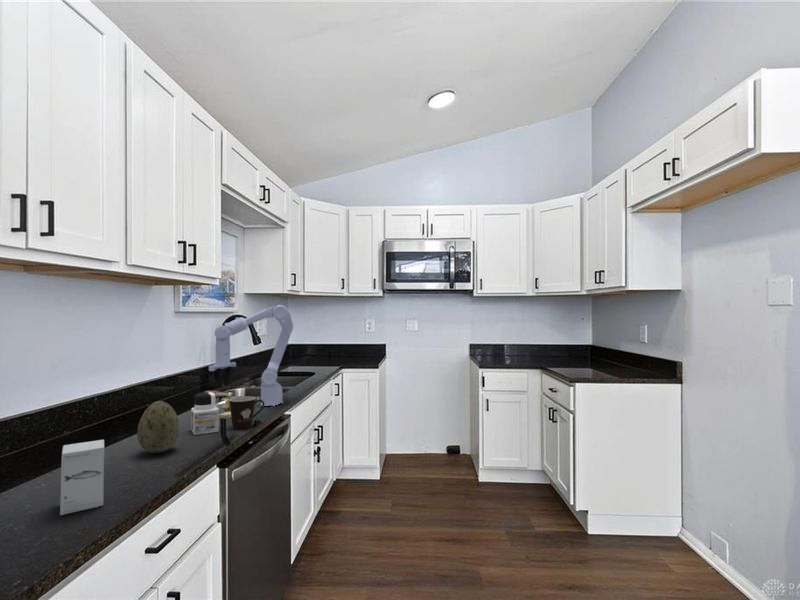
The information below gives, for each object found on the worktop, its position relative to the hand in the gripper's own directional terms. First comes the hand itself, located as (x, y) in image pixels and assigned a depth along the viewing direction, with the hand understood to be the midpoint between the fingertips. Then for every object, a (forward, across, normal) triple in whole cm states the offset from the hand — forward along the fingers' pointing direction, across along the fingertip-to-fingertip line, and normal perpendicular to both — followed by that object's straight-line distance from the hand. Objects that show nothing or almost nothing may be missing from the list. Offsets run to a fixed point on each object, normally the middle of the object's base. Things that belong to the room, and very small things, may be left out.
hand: (222, 385), depth 179 cm
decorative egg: (+10, +52, +20) cm, 57 cm away
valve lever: (+3, +6, +3) cm, 8 cm away
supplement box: (+10, +83, +32) cm, 90 cm away
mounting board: (+9, +7, +8) cm, 14 cm away
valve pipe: (+8, +7, +9) cm, 14 cm away
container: (+10, +30, +18) cm, 36 cm away
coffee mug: (+10, +22, +28) cm, 37 cm away
